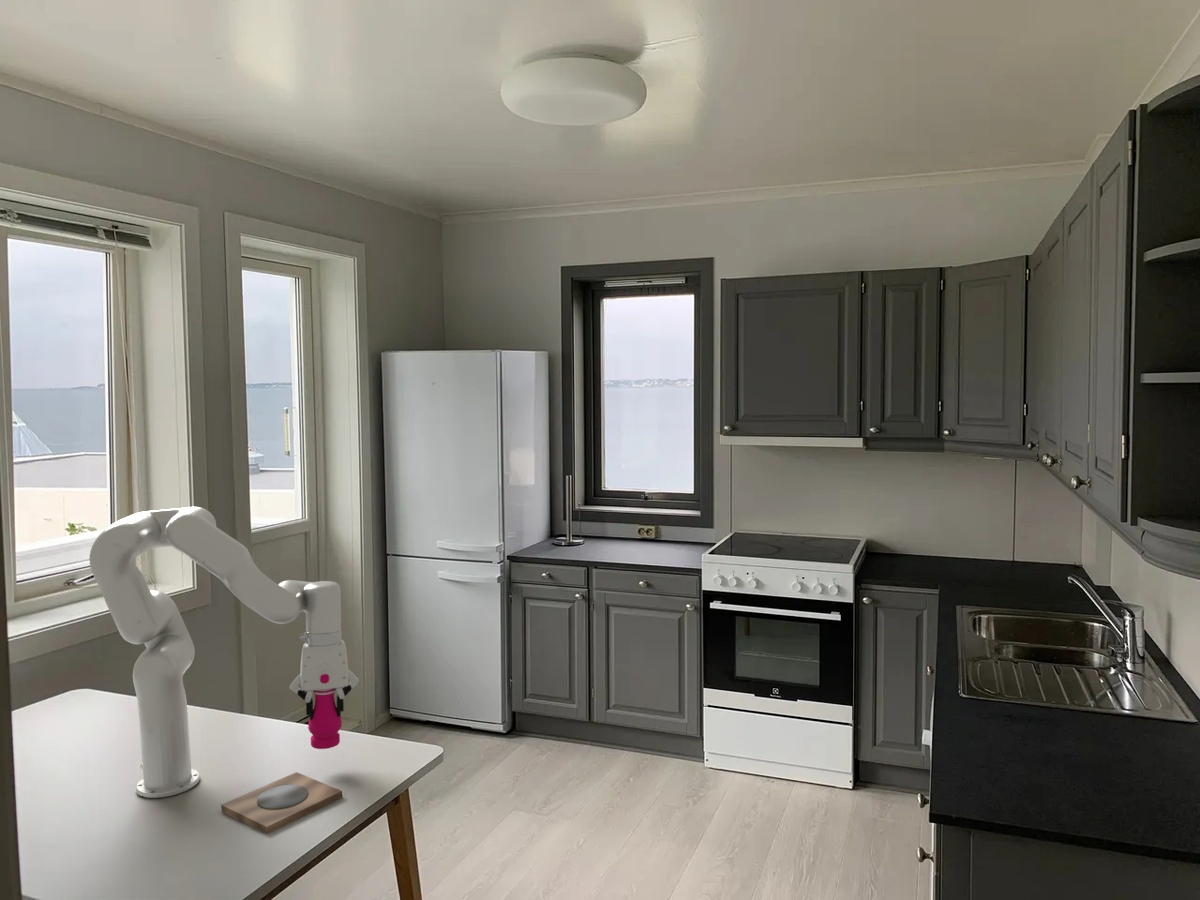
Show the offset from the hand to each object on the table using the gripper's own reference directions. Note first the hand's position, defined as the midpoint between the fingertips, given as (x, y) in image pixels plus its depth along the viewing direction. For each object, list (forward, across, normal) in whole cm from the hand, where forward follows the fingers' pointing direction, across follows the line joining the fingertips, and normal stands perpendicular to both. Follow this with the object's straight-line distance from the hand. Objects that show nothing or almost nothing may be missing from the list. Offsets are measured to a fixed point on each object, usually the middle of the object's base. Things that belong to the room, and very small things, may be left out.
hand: (325, 715), depth 203 cm
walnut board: (+13, -9, -14) cm, 21 cm away
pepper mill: (+7, 0, 0) cm, 7 cm away
